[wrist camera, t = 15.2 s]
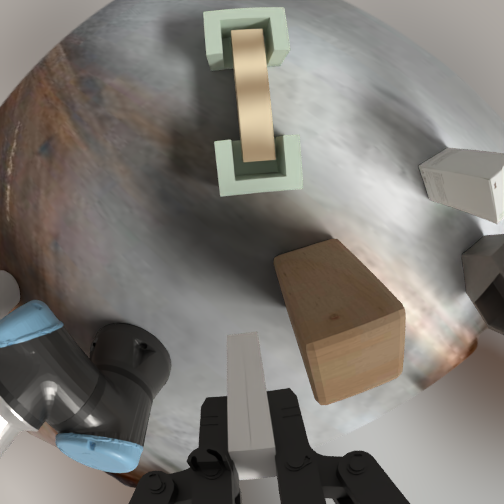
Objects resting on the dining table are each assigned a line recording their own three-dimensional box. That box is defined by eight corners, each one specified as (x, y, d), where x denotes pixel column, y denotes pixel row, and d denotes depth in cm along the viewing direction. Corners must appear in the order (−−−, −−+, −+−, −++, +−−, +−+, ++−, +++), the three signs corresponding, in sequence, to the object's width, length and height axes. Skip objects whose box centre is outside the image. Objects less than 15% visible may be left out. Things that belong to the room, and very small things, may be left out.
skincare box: (427, 200, 39) (495, 228, 24) (415, 163, 37) (488, 178, 22) (459, 179, 38) (525, 200, 23) (448, 144, 36) (518, 154, 21)
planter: (471, 232, 36) (537, 329, 24) (495, 211, 35) (559, 300, 23) (452, 273, 50) (499, 349, 37) (474, 254, 49) (521, 326, 36)
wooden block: (270, 254, 40) (301, 345, 22) (336, 234, 40) (409, 305, 21) (287, 311, 44) (318, 411, 25) (346, 291, 44) (405, 377, 25)
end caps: (290, 181, 37) (303, 188, 30) (222, 187, 37) (220, 196, 30) (275, 29, 29) (284, 7, 22) (207, 33, 29) (203, 12, 22)
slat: (270, 158, 35) (275, 159, 30) (242, 160, 35) (243, 162, 30) (258, 42, 29) (262, 28, 24) (231, 44, 29) (231, 30, 24)
